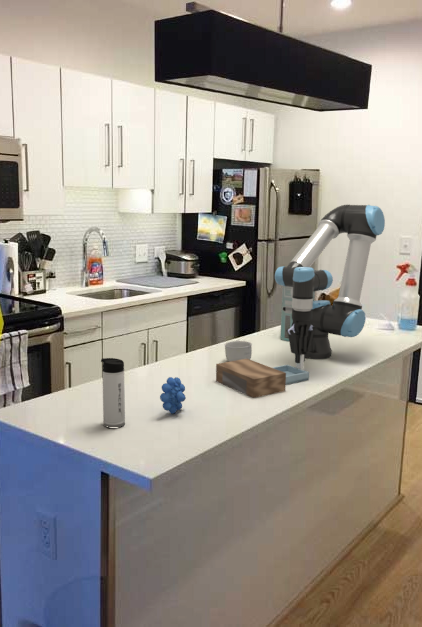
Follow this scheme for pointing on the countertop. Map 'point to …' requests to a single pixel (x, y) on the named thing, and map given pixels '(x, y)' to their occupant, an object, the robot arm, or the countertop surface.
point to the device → (287, 311)
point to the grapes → (172, 395)
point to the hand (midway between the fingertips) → (299, 370)
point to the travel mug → (113, 392)
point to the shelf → (250, 377)
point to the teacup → (238, 350)
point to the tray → (293, 374)
